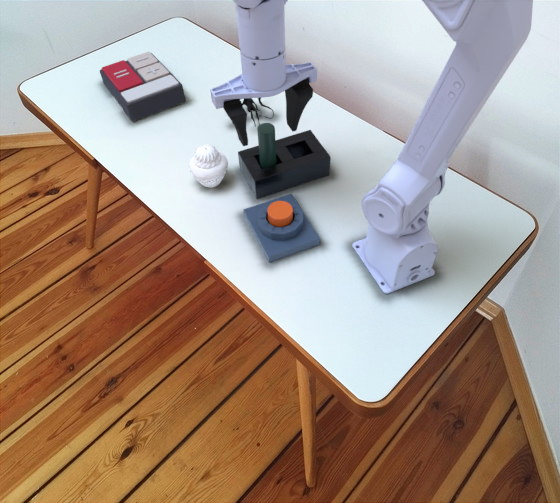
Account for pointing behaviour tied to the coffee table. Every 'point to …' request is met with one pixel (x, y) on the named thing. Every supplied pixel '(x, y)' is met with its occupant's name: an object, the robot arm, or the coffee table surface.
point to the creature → (250, 107)
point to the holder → (285, 164)
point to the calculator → (142, 85)
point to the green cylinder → (266, 145)
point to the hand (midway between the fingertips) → (267, 134)
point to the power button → (280, 213)
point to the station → (281, 230)
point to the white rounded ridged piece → (208, 166)
